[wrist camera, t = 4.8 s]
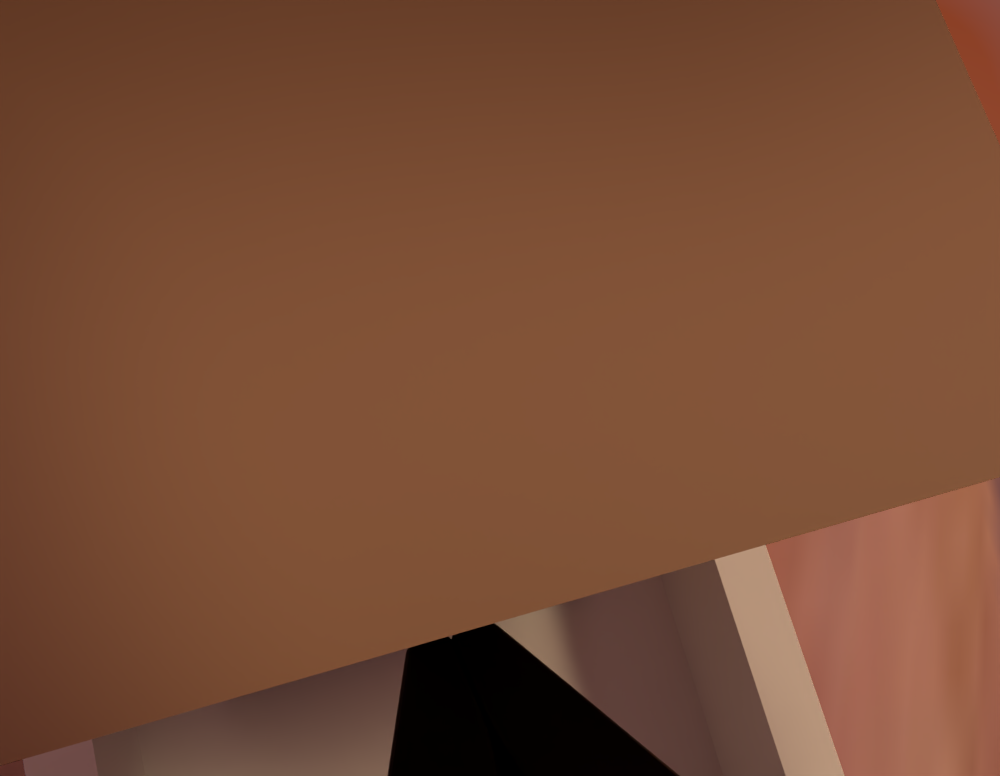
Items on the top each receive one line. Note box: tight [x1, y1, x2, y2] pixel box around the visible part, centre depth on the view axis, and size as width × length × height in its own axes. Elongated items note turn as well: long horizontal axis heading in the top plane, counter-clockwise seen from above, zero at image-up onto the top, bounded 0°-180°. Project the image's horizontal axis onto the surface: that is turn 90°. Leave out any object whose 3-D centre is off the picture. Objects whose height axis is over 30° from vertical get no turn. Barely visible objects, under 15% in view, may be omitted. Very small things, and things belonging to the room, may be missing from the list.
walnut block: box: [0, 0, 1000, 766], centre depth 10 cm, size 5×6×11 cm
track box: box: [23, 545, 844, 776], centre depth 15 cm, size 21×10×4 cm, turn 16°
